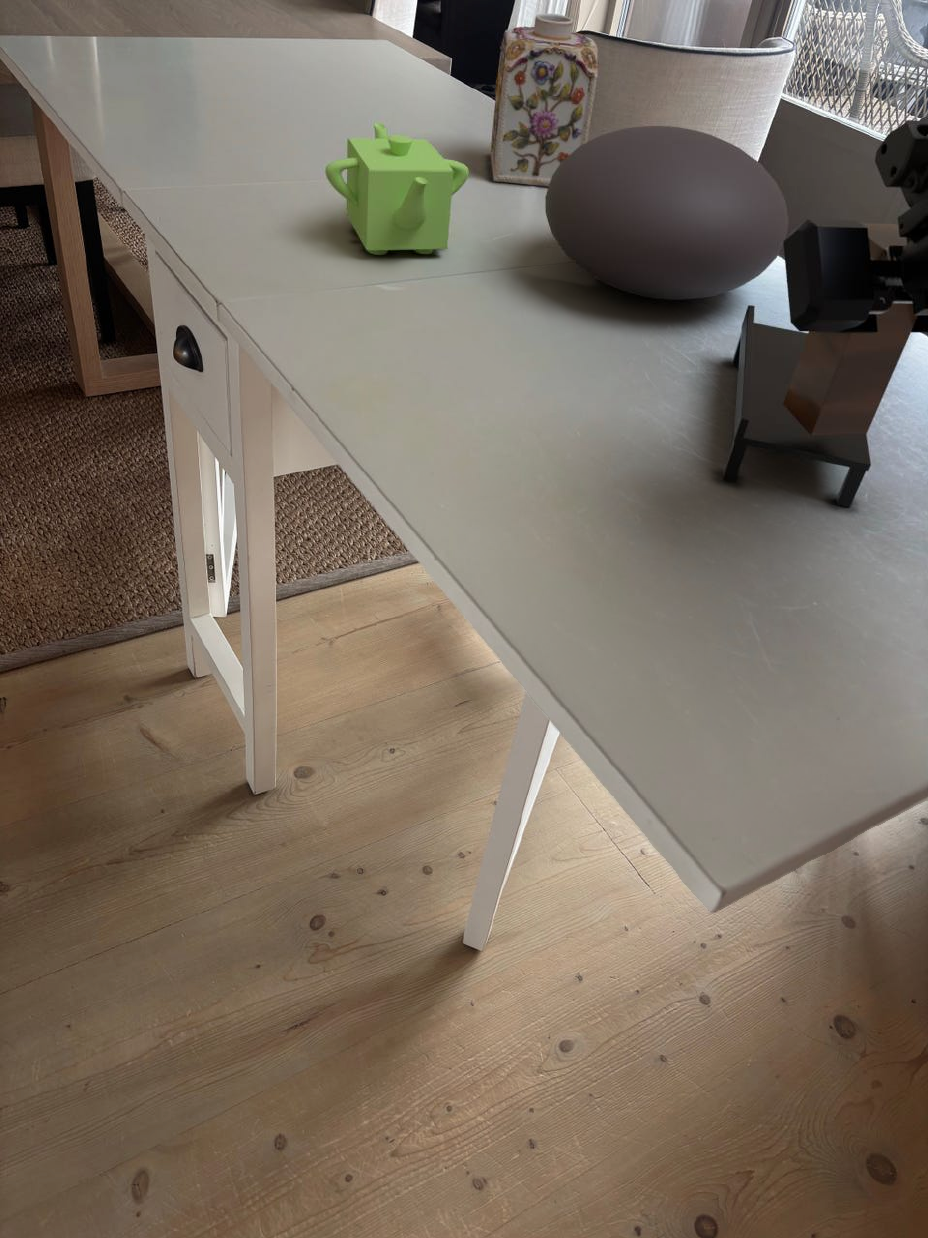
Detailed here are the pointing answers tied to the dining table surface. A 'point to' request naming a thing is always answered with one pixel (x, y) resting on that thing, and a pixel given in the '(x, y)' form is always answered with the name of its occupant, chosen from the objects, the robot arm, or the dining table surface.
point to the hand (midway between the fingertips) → (848, 324)
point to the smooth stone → (666, 212)
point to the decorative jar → (541, 99)
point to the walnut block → (850, 363)
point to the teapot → (397, 191)
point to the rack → (783, 408)
